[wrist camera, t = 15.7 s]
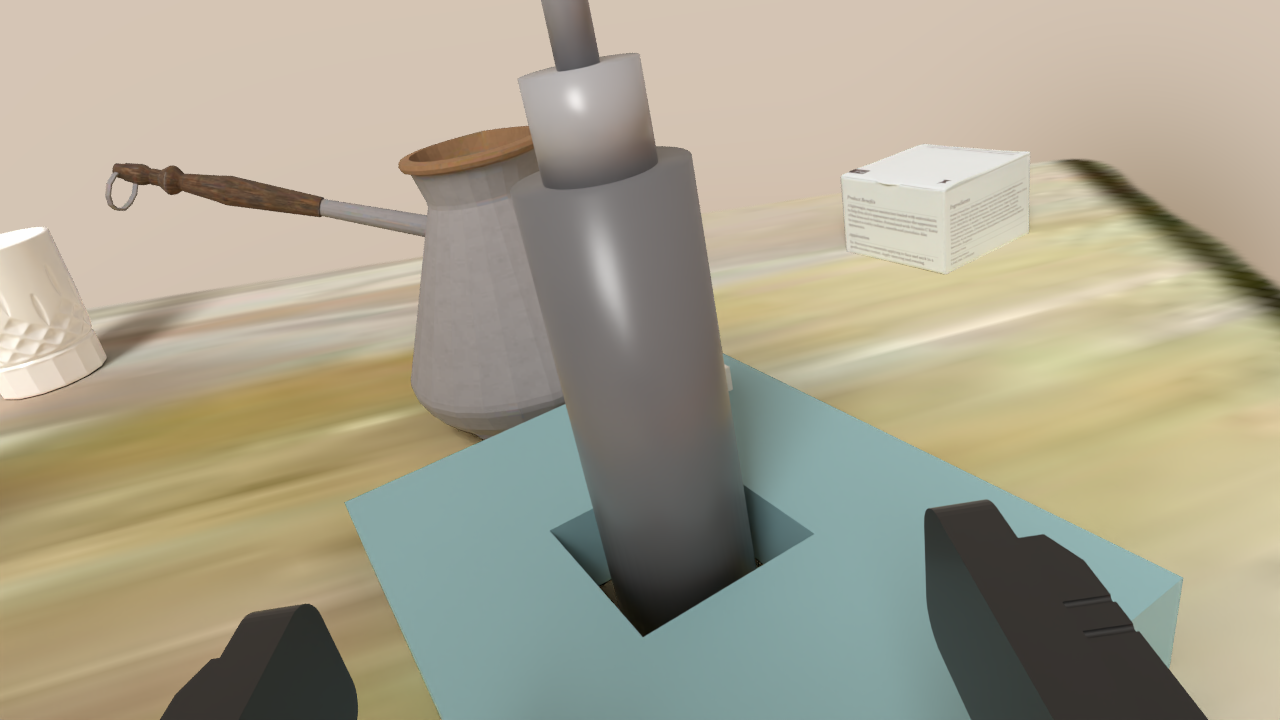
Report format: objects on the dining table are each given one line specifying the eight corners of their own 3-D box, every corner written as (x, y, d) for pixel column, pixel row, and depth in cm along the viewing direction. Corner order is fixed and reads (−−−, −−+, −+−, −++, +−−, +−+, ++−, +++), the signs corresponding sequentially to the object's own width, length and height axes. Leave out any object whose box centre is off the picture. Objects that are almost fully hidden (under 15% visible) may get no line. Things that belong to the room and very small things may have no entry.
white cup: (13, 374, 59) (-63, 249, 55) (126, 342, 61) (61, 218, 57) (-26, 418, 52) (-116, 279, 48) (103, 379, 54) (27, 243, 50)
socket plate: (372, 565, 30) (334, 479, 28) (712, 401, 36) (698, 322, 34) (635, 1148, 14) (585, 1031, 12) (1169, 667, 20) (1188, 545, 18)
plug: (599, 605, 26) (417, -53, 17) (708, 543, 27) (590, -83, 19) (671, 690, 22) (486, -86, 14) (791, 613, 24) (692, -119, 15)
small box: (1032, 235, 47) (1035, 149, 45) (944, 278, 44) (943, 188, 42) (926, 216, 53) (924, 140, 51) (842, 253, 50) (836, 174, 48)
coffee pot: (649, 333, 44) (592, 53, 38) (665, 440, 34) (591, 81, 27) (283, 403, 45) (166, 141, 39) (190, 529, 35) (9, 200, 28)
